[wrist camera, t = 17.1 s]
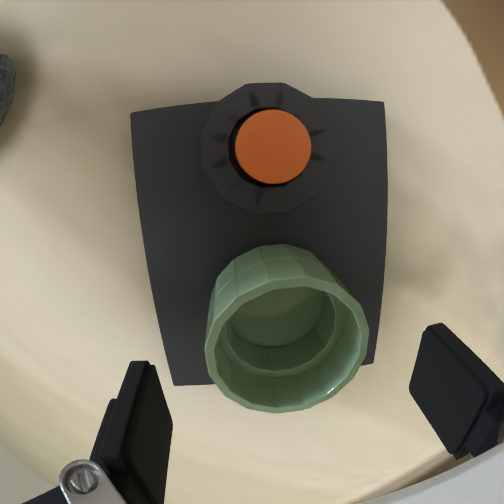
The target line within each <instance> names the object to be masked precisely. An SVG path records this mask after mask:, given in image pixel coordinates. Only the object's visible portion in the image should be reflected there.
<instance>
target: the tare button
mask: <svg viewBox="0 0 504 504" xmlns="http://www.w3.org/2000/svg"><path fill="white" fill-rule="evenodd" d="M235 154H236V158H237V160H238V162H239V164H240V166H241V167H242V168H243V170H244V171H245V172H246V173H248V174H249V175H250V176H251V177H253V178H254V179H256V180H258V181H261V182H264V183H269V184H279V183H284V182H287V181H290V180H292V179H293V178H295V177H296V176H298V175H299V174H300V173H301V172H302V171H303V169H304V168H305V167H306V165H307V163H308V161H309V158H310V154H311V140H310V136H309V134H308V131H307V129H306V128H305V126H304V125H303V123H302V122H301V121H300V120H299V119H298V118H296V117H295V116H293V115H292V114H290V113H288V112H285V111H282V110H264V111H261V112H258V113H256V114H254V115H252V116H251V117H250V118H248V119H247V120H246V121H245V122H244V124H243V125H242V126H241V128H240V130H239V132H238V134H237V137H236V141H235Z"/></svg>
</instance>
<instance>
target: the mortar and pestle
mask: <svg viewBox="0 0 504 504" xmlns="http://www.w3.org/2000/svg"><path fill="white" fill-rule="evenodd" d="M14 79H15V71H14V69H13V67H12V65H11V63H10V62H9V60H8V58H7V56H6V55H3V54H0V124H1V122H2V120H3V118H4V116H5V114H6V112H7V110H8V108H9V106H10V104H11V102H12V100H13V88H14Z"/></svg>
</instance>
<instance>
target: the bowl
mask: <svg viewBox="0 0 504 504" xmlns="http://www.w3.org/2000/svg"><path fill="white" fill-rule="evenodd" d="M368 337H369V327H368V324H367V321H366V319H365V316H364V313H363V310H362V307H361V305H360V304H359V302H358V301H357V300H356V299H355V298H354V296H353V295H352V294H351V293H350V292H349V291H348V289H347V288H346V287H345V286H344V285H343V283H341V281H340V280H339V279H338V278H337V277H336V275H335V274H334V273H333V272H332V271H331V270H330V268H329V267H328V266H327V265H326V264H325V263H323V262H322V261H321V260H320V259H319V258H318V257H317V256H316V255H315V254H313V253H311V252H310V251H307V250H304V249H301V248H298V247H295V246H292V245H289V244H287V245H286V244H277V245H265V246H260V247H256V248H254V249H252V250H250V251H248V252H246V253H244V254H242V255H240V256H238V257H236V258H235V259H233V260H232V261H231V262H230V264H229V265H228V266H227V267H226V268H225V269H224V270H223V271H222V273H221V274H220V275H219V276H218V277H217V279H216V282H215V285H214V288H213V291H212V295H211V298H210V302H209V311H208V321H207V329H206V339H205V349H204V350H205V356H206V362H207V368H208V373H209V376H210V377H211V378H212V380H213V381H214V382H215V384H216V385H217V386H218V388H219V389H220V390H221V392H222V393H223V394H224V395H225V396H226V397H228V398H229V399H231V400H233V401H235V402H237V403H238V404H240V405H242V406H244V407H246V408H249V409H252V410H257V411H263V412H269V413H284V412H292V411H299V410H304V409H307V408H310V407H312V406H314V405H316V404H319V403H321V402H323V401H325V400H328V399H330V398H331V397H333V396H334V395H335V394H336V393H337V392H339V391H340V390H341V389H342V388H343V387H344V386H345V385H347V384H348V383H349V382H350V381H351V380H352V379H353V377H354V376H355V374H356V372H357V371H358V369H359V367H360V366H361V364H362V362H363V360H364V359H365V357H366V352H367V345H368Z"/></svg>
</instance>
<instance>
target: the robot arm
mask: <svg viewBox="0 0 504 504" xmlns="http://www.w3.org/2000/svg"><path fill="white" fill-rule="evenodd" d="M409 391H410V394H411V395H412V397H413V398H414V400H415V401H416V403H417V404H418V406H419V407H420V409H421V411H422V412H423V414H424V415H425V417H426V418H427V420H428V421H429V423H430V424H431V426H432V427H433V429H434V430H435V432H436V434H437V435H438V437H439V438H440V440H441V441H442V443H443V445H444V446H445V448H446V449H447V451H448V452H449V453H450V454H453V455H454V457H455V458H456V460H457V459H460V458H462V457H464V456H466V455H468V453H469V452H470V453H471V455H472V458H471V460H469V461H467V462H465V463H463V464H461V465H459V466H457V467H455V468H453V469H450V470H448V471H446V472H444V473H442V474H439V475H437V476H435V477H432V478H430V479H427V480H425V481H422V482H420V483H417V484H415V485H412V486H409V487H407V488H404V489H401V490H398V491H396V492H393V493H390V494H387V495H384V496H380V497H377V498H374V499H371V500H367V501H364V502H360V503H356V504H504V383H503V382H502V381H501V380H500V379H499V378H498V377H497V376H496V374H495V373H494V372H493V371H492V370H491V369H490V368H489V367H488V366H487V365H486V364H485V363H484V362H483V361H482V360H481V359H480V358H479V357H478V356H477V355H476V354H475V353H474V352H473V351H472V350H471V349H470V348H469V347H467V346H466V345H465V344H464V343H463V342H462V341H461V340H460V339H459V338H458V337H457V336H456V335H455V334H454V333H453V332H452V331H451V330H450V329H449V328H448V327H447V326H445V325H444V324H443V323H438V324H433V325H429V326H427V328H426V330H425V331H424V332H423V334H422V338H421V342H420V347H419V351H418V355H417V359H416V362H415V366H414V370H413V374H412V377H411V381H410V384H409ZM172 430H173V423H172V418H171V415H170V412H169V409H168V406H167V403H166V400H165V397H164V394H163V390H162V387H161V384H160V381H159V377H158V374H157V371H156V367H155V366H154V365H150V363H149V362H148V361H131V362H130V364H129V367H128V369H127V372H126V375H125V378H124V380H123V383H122V386H121V389H120V391H119V394H118V397H117V399H111V400H110V402H109V404H108V407H107V409H106V412H105V415H104V418H103V421H102V423H101V426H100V429H99V432H98V435H97V438H96V441H95V444H94V447H93V450H92V453H91V456H90V459H89V460H86V459H85V460H76V461H73V462H71V463H69V464H68V465H66V466H65V467H64V468H63V469H62V471H61V473H60V475H59V484H60V486H58V487H56V488H54V489H52V490H50V491H48V492H46V493H44V494H41V495H39V496H37V497H35V498H33V499H31V500H29V501H27V502H24V503H23V504H164V497H165V488H166V478H167V470H168V461H169V453H170V445H171V437H172Z"/></svg>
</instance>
